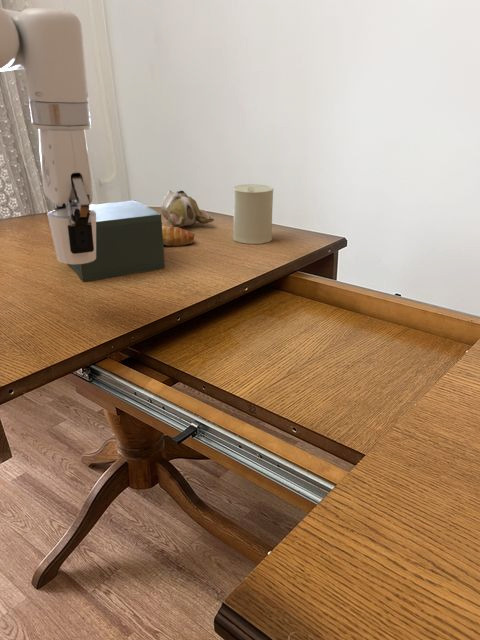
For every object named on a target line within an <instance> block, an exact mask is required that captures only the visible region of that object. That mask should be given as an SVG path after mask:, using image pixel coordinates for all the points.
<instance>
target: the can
mask: <svg viewBox="0 0 480 640" xmlns="http://www.w3.org/2000/svg"><path fill="white" fill-rule="evenodd" d="M232 194H233V195H232V196H233V199H232V202H233V231H232V233H233V234H232V240H233V241H234V242H236V243H239V244H245V245H262V244H267V243H270V242H272V241H273V200H274V187H272V186H270V185H264V184H252V183H251V184H249V183H248V184H239V185H235V186H233V187H232Z"/></svg>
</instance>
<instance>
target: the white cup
mask: <svg viewBox="0 0 480 640" xmlns="http://www.w3.org/2000/svg"><path fill="white" fill-rule="evenodd" d="M75 209H78V208H75ZM75 209H72V210H73V214H74V211H75ZM89 210H90V209H89ZM46 213H47V214H46V216H47V220H48V224H49V228H50V233H51V237H52V242H53V247H54V251H55V256H56V259H57V262H58V263H61V264H64V265H68V264H84V263H89V262H92V261H94V260H95V259H96V211H93V210H90V212H89V213H90V218H91V225H92V235H93V245H94V250H93V251H92V252H86V253H77V254H73V253H72V252H71V251H70V242H69V234H68V225H70V222H69V218H68V213H67V209H66V208H64V209H57V210H55V209H53V210H50V211H48V212H46Z"/></svg>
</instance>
